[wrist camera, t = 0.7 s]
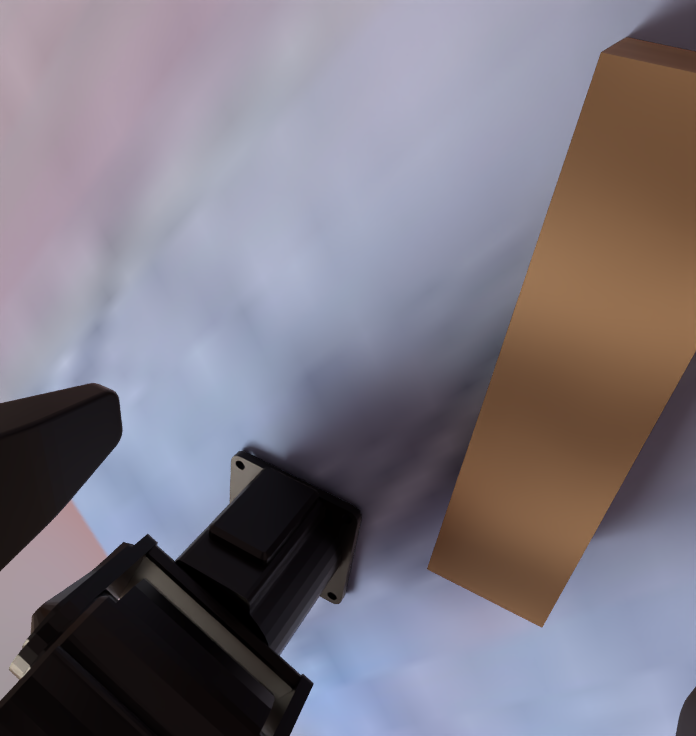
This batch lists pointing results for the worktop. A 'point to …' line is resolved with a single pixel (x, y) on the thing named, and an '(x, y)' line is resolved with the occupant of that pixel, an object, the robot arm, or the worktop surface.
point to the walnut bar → (585, 338)
